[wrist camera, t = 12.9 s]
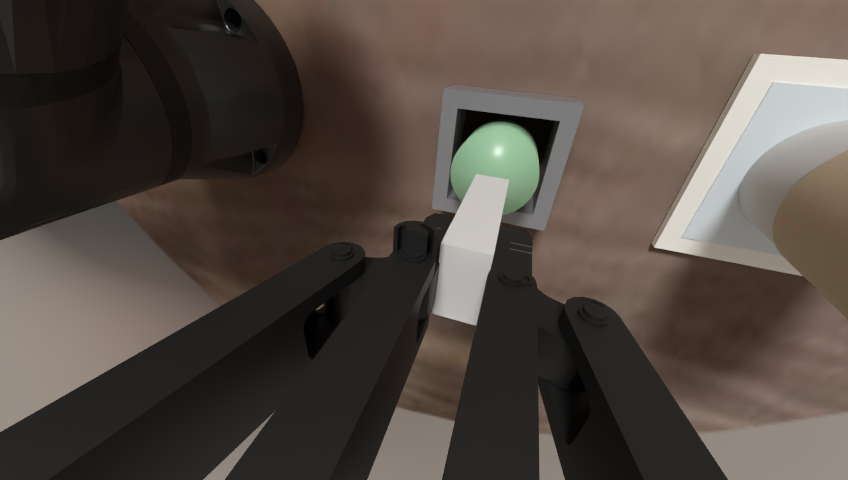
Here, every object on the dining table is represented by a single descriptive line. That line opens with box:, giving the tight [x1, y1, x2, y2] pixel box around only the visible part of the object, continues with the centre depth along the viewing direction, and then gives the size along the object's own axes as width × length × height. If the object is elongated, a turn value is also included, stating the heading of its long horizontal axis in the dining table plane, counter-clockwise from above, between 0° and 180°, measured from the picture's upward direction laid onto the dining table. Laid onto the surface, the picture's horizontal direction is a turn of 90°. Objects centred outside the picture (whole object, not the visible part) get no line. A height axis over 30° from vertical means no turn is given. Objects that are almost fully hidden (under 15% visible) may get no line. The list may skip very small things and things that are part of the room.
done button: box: [450, 119, 539, 215], centre depth 19 cm, size 5×5×4 cm
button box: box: [432, 85, 585, 231], centre depth 21 cm, size 8×8×4 cm
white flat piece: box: [651, 54, 848, 276], centre depth 18 cm, size 14×12×1 cm
